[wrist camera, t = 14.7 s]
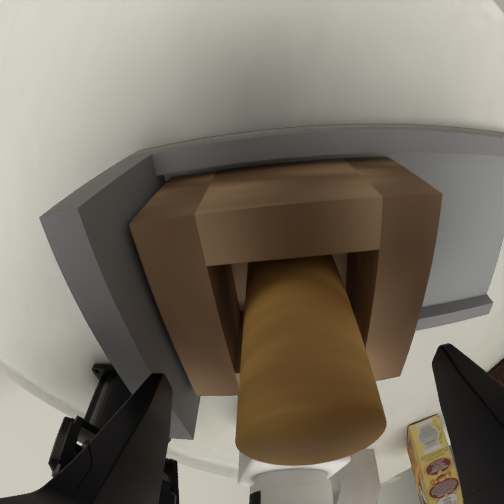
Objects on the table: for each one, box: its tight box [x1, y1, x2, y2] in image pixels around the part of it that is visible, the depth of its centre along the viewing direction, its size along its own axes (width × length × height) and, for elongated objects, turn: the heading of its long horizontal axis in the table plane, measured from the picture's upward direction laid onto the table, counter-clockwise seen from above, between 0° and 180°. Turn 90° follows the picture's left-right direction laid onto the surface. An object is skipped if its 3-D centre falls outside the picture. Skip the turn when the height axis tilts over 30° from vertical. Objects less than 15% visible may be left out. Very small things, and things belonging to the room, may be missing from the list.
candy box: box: [407, 415, 463, 504], centre depth 23 cm, size 9×4×15 cm, turn 23°
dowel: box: [235, 254, 387, 466], centre depth 11 cm, size 4×4×9 cm
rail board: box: [39, 124, 504, 440], centre depth 12 cm, size 21×12×8 cm, turn 97°
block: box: [129, 157, 443, 396], centre depth 13 cm, size 10×9×5 cm
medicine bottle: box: [238, 452, 351, 504], centre depth 19 cm, size 7×7×12 cm
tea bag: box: [328, 449, 380, 504], centre depth 27 cm, size 4×7×10 cm, turn 62°
